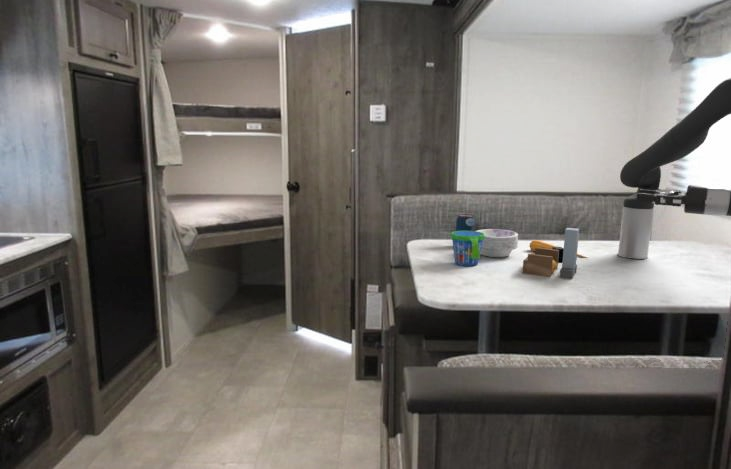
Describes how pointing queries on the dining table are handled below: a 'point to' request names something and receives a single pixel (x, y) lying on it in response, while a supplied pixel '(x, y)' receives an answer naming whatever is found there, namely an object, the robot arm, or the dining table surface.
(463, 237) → the snack cup
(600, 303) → the dining table surface
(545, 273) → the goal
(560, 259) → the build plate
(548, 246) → the carrot
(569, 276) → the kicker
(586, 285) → the dining table surface
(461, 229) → the soda can
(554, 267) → the ball
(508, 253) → the paper bowls
